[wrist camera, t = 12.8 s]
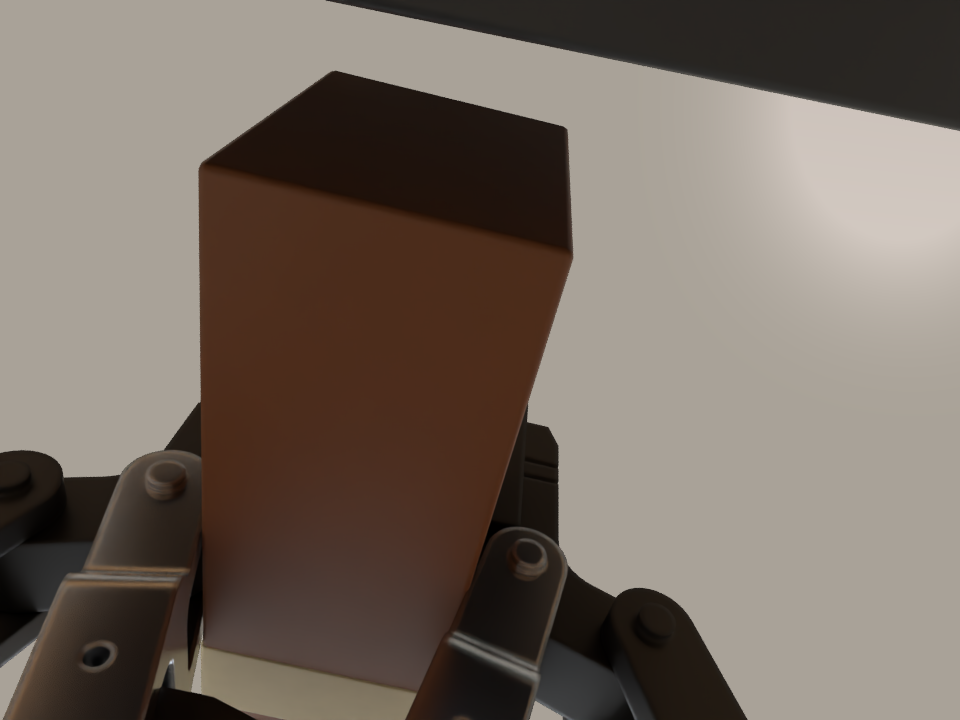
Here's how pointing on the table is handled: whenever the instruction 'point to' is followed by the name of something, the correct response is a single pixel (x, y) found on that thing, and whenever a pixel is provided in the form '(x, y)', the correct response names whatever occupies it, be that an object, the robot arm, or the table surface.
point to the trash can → (748, 43)
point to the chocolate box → (363, 382)
